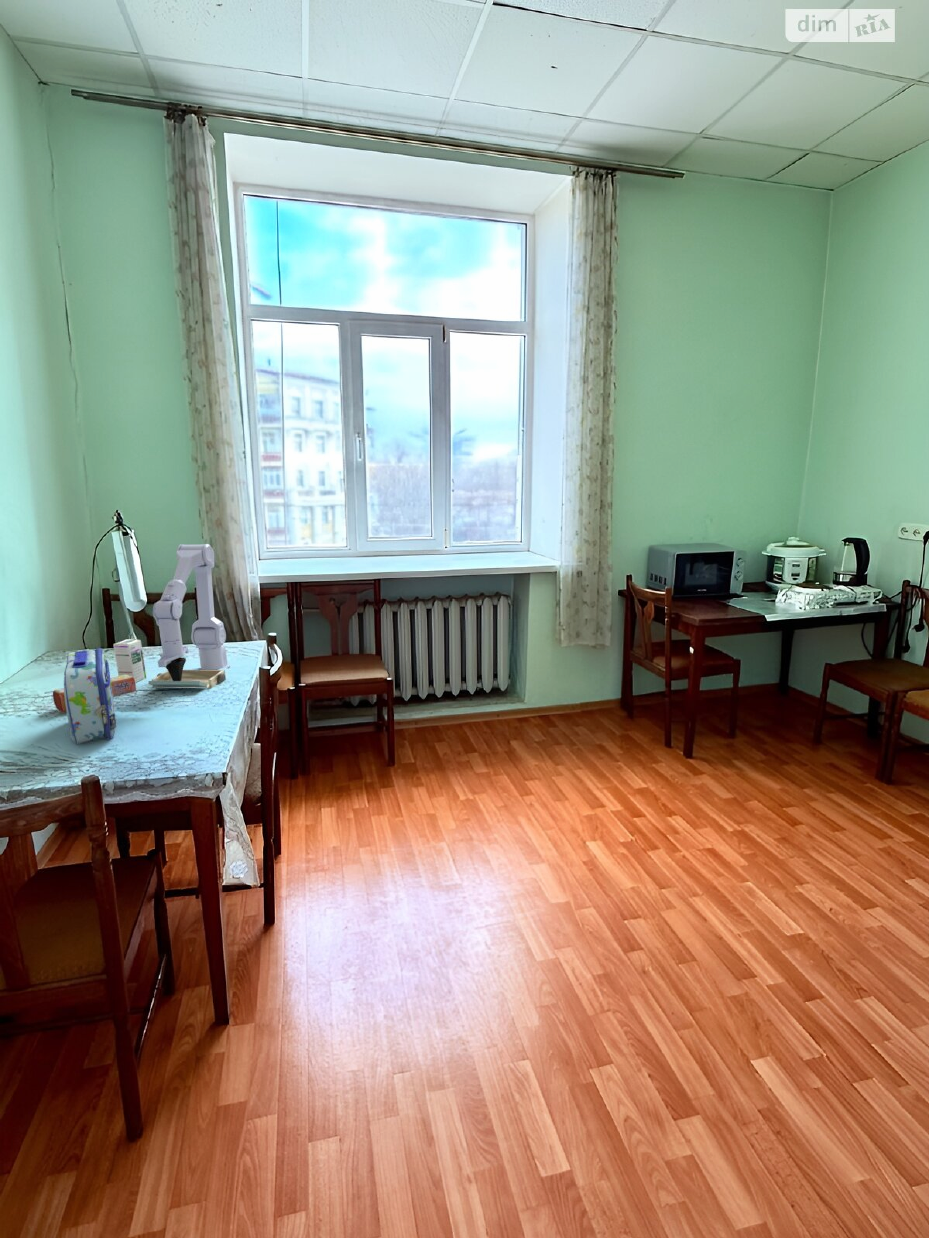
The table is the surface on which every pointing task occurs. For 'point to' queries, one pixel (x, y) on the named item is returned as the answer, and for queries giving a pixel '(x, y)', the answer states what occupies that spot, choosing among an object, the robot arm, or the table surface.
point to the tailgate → (177, 684)
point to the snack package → (118, 685)
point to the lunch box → (89, 696)
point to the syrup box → (130, 659)
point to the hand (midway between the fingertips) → (177, 682)
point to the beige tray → (195, 677)
